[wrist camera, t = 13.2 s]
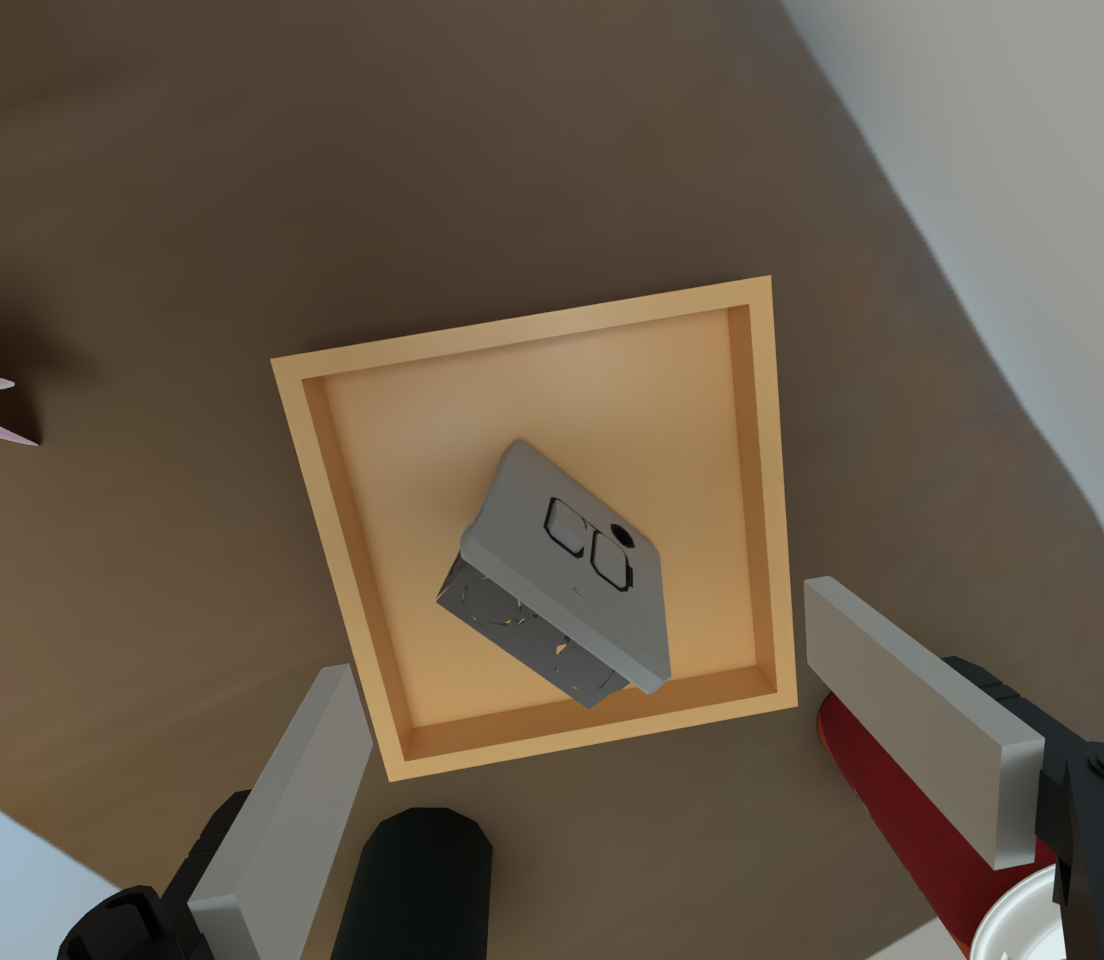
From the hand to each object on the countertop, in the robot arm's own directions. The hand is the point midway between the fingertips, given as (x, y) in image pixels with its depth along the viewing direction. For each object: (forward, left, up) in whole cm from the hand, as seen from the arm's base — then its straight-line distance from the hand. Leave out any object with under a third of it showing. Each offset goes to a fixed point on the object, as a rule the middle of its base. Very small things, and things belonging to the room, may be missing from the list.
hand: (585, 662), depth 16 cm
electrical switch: (0, 0, -12) cm, 13 cm away
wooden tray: (0, 0, -13) cm, 13 cm away
